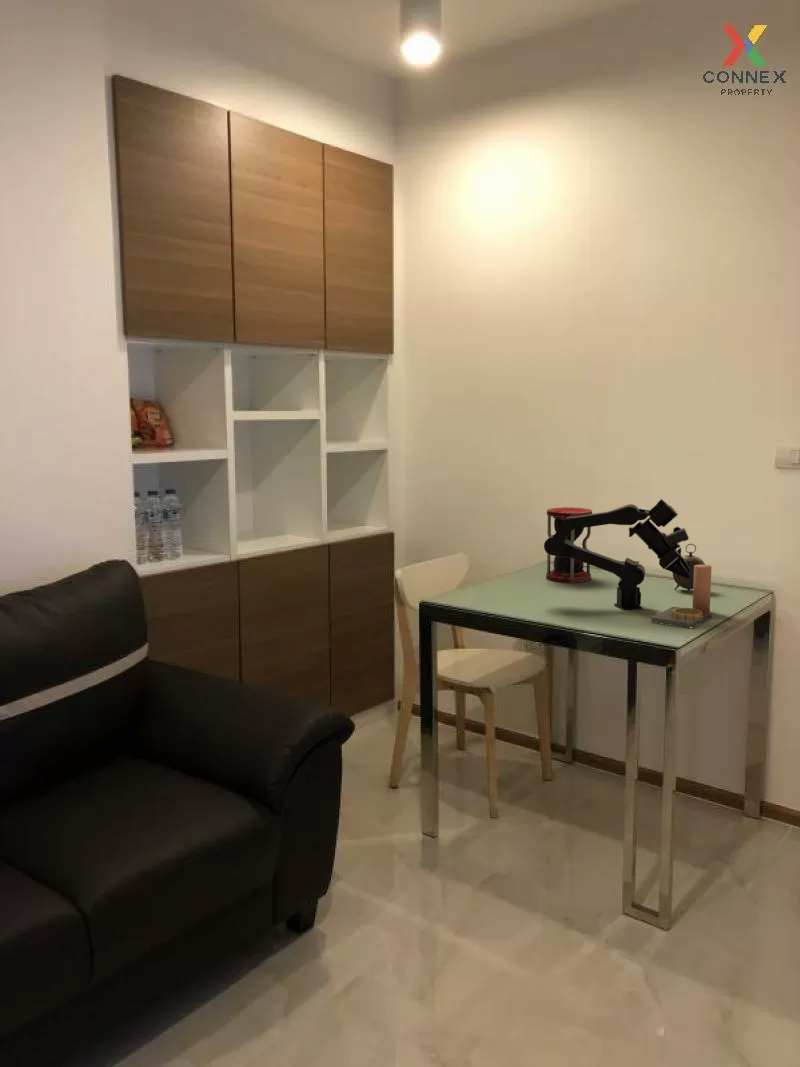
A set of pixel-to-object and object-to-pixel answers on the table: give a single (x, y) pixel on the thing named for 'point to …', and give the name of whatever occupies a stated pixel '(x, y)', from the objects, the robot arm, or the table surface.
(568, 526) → the robot arm
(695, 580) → the orange tapered capsule
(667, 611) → the plate
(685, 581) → the alarm clock
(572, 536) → the hourglass
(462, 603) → the table surface
